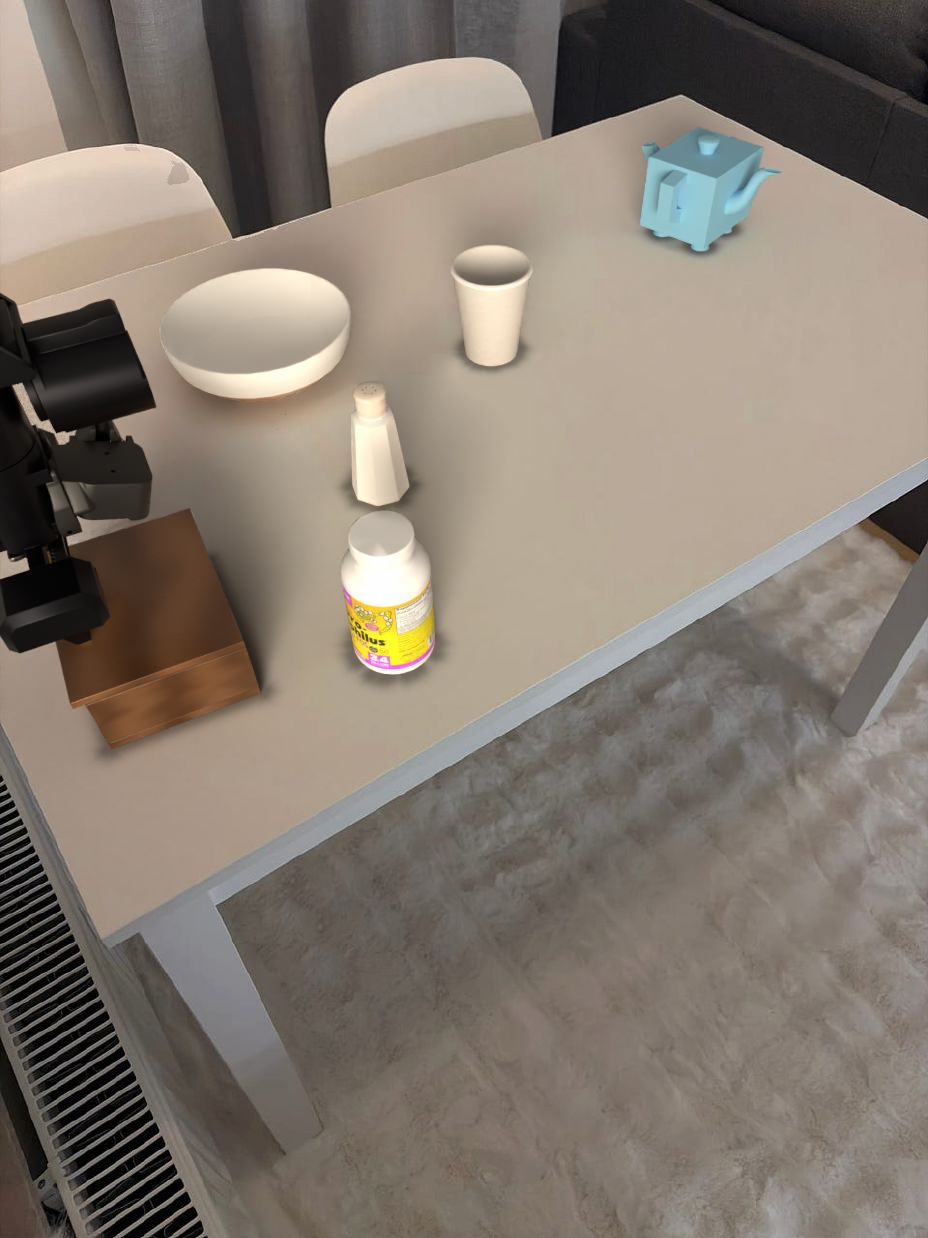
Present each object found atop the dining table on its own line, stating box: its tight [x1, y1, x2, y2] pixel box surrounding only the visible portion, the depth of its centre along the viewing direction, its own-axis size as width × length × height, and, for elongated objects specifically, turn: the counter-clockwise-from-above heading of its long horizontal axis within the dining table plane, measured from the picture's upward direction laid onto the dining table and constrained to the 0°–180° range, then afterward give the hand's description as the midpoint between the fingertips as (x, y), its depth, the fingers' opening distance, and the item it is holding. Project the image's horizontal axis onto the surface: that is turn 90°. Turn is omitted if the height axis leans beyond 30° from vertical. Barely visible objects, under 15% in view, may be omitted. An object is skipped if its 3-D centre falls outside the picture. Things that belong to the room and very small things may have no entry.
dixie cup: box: [449, 244, 534, 367], centre depth 96 cm, size 8×8×10 cm
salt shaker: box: [350, 381, 410, 507], centre depth 82 cm, size 5×5×11 cm
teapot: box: [639, 126, 782, 252], centre depth 110 cm, size 16×18×11 cm
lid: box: [47, 507, 246, 710], centre depth 68 cm, size 12×16×5 cm
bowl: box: [158, 267, 352, 402], centre depth 96 cm, size 20×20×6 cm
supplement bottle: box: [339, 510, 436, 675], centre depth 69 cm, size 7×7×13 cm
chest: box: [84, 646, 262, 750], centre depth 72 cm, size 12×16×6 cm
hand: (76, 612), depth 68 cm, fingers closed on lid, 6 cm apart
